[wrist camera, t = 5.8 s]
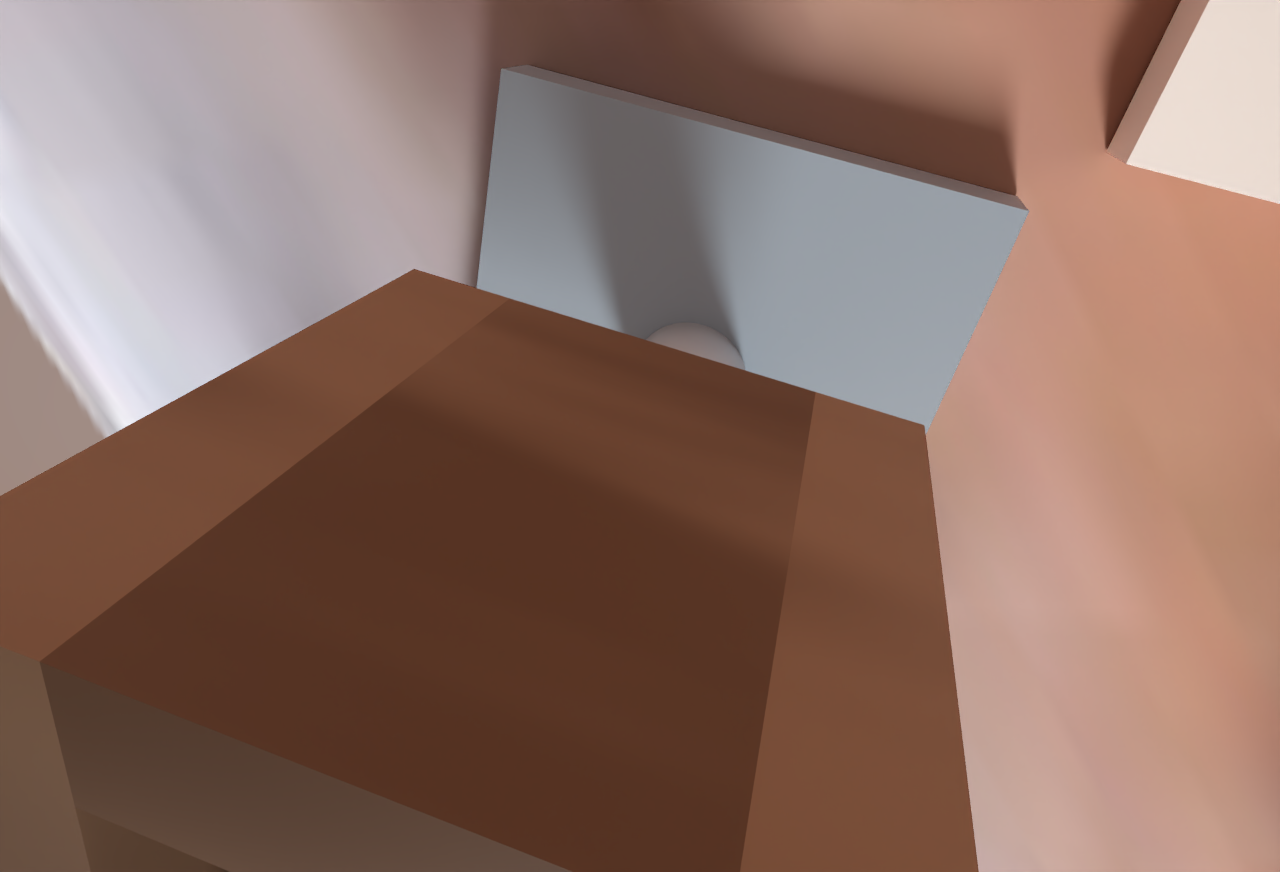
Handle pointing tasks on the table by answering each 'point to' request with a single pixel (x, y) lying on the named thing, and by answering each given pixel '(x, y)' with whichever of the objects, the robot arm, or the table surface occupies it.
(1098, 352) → the table surface
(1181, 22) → the rod stand
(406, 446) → the walnut collar
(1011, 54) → the table surface
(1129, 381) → the table surface
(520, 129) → the plate
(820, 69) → the table surface
